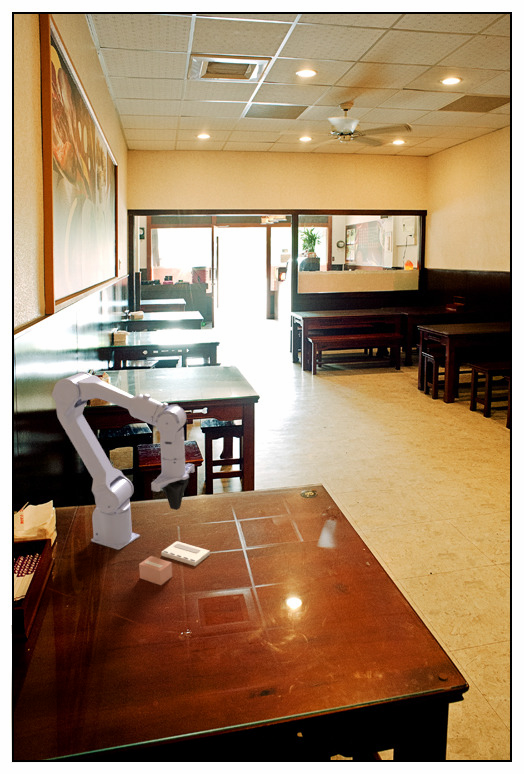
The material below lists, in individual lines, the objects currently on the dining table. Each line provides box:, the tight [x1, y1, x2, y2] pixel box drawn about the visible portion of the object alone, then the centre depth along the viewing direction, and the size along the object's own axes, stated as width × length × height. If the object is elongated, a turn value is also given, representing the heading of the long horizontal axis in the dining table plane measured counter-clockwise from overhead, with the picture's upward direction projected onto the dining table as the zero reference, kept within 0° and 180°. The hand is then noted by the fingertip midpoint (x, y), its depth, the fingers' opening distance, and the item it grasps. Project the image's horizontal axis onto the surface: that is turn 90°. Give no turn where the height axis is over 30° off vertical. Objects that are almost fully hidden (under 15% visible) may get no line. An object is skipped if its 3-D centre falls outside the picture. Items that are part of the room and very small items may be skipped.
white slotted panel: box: [161, 540, 211, 567], centre depth 135 cm, size 10×6×1 cm, turn 61°
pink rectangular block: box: [138, 555, 173, 586], centre depth 125 cm, size 6×4×4 cm, turn 61°
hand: (175, 508), depth 138 cm, fingers closed
